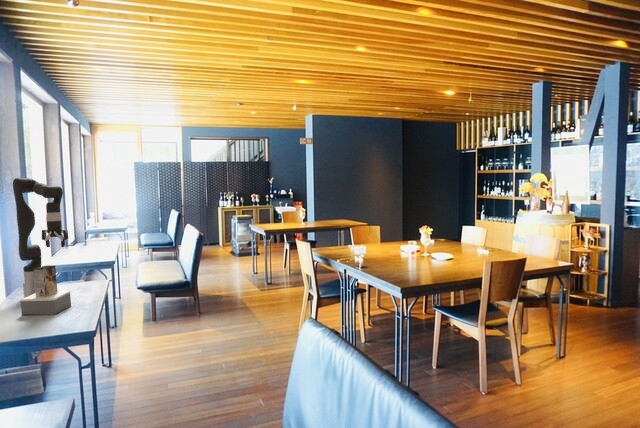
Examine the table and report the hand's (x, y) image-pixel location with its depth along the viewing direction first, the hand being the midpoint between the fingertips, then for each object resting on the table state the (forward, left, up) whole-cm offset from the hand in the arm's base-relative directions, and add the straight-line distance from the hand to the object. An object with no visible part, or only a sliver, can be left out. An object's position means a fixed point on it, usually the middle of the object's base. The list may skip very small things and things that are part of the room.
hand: (55, 247), depth 260 cm
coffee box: (+2, -15, -25) cm, 29 cm away
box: (+1, -15, -34) cm, 37 cm away
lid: (+1, -15, -26) cm, 30 cm away
